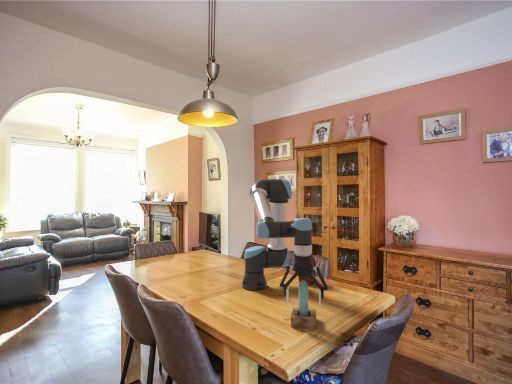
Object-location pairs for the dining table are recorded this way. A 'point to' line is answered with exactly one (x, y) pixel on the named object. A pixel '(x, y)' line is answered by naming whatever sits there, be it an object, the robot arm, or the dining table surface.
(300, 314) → the teal long bar
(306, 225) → the robot arm
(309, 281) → the wooden figurine
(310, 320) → the brown open box
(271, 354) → the dining table surface
